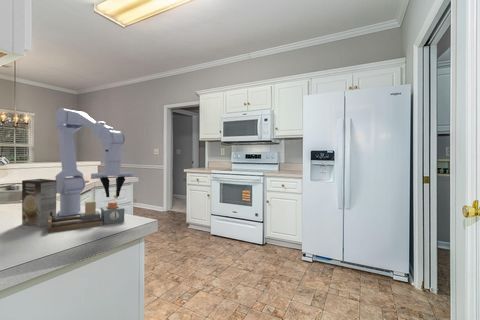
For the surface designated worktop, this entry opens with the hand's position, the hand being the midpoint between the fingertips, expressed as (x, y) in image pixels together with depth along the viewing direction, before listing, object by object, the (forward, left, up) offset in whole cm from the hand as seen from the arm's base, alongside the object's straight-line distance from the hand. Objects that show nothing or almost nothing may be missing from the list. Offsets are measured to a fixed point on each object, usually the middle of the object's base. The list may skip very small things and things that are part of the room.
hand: (112, 196), depth 97 cm
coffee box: (-10, -23, -10) cm, 26 cm away
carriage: (0, -8, -8) cm, 11 cm away
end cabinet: (0, 0, -9) cm, 9 cm away
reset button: (0, 0, -6) cm, 6 cm away
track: (0, -12, -9) cm, 15 cm away
